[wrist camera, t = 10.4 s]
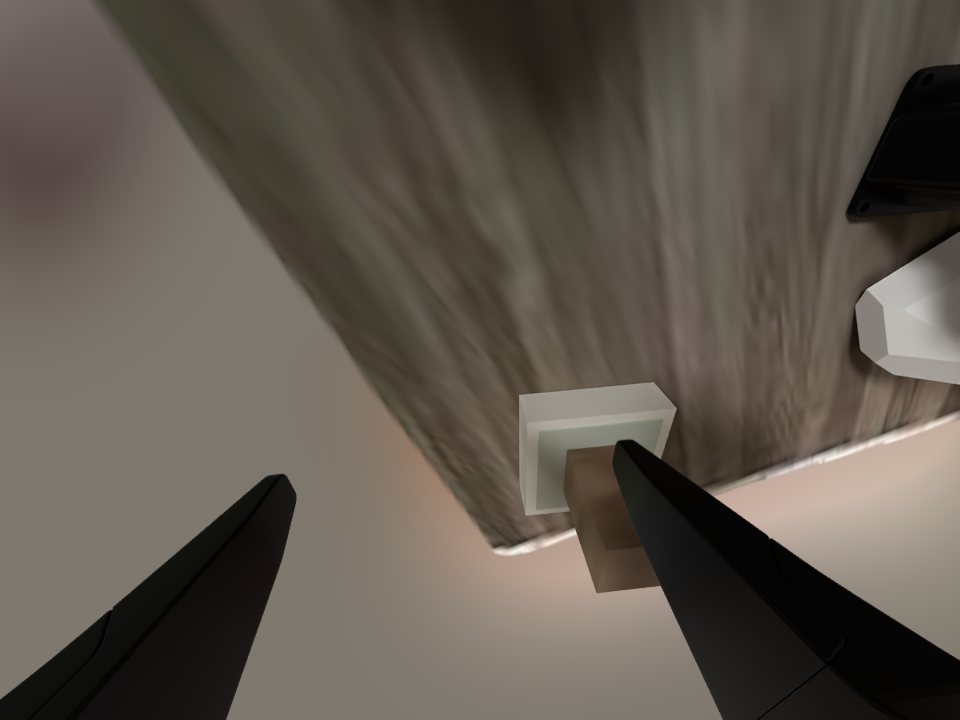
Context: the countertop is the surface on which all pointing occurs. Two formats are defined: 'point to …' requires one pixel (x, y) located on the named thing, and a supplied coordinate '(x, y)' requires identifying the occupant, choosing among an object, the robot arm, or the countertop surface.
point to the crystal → (916, 317)
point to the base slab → (583, 433)
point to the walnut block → (604, 522)
